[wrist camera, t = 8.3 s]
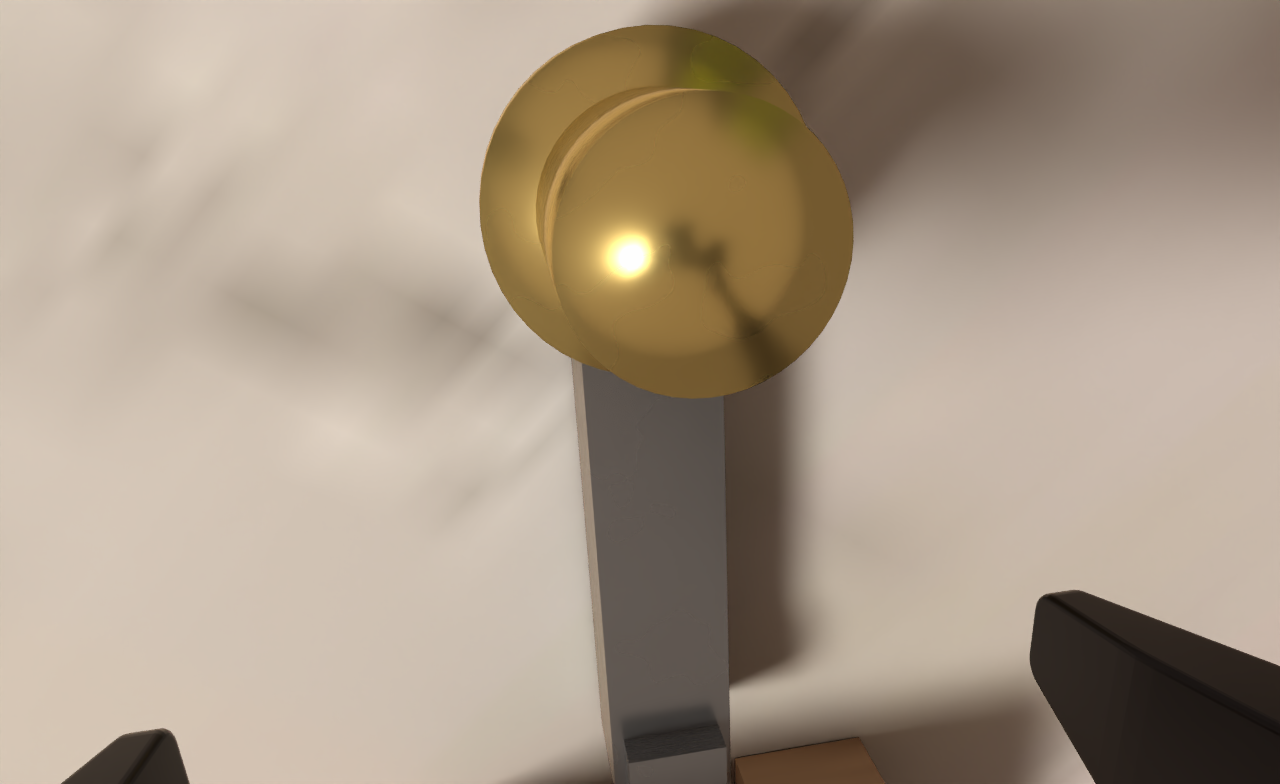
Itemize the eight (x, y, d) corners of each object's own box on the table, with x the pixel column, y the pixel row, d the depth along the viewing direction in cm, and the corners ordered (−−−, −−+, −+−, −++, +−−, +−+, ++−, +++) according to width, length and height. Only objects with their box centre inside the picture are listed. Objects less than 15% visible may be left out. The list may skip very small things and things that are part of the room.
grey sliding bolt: (759, 696, 25) (873, 952, 18) (542, 731, 25) (568, 1015, 17) (757, 27, 19) (932, -2, 12) (463, 42, 18) (450, 20, 11)
